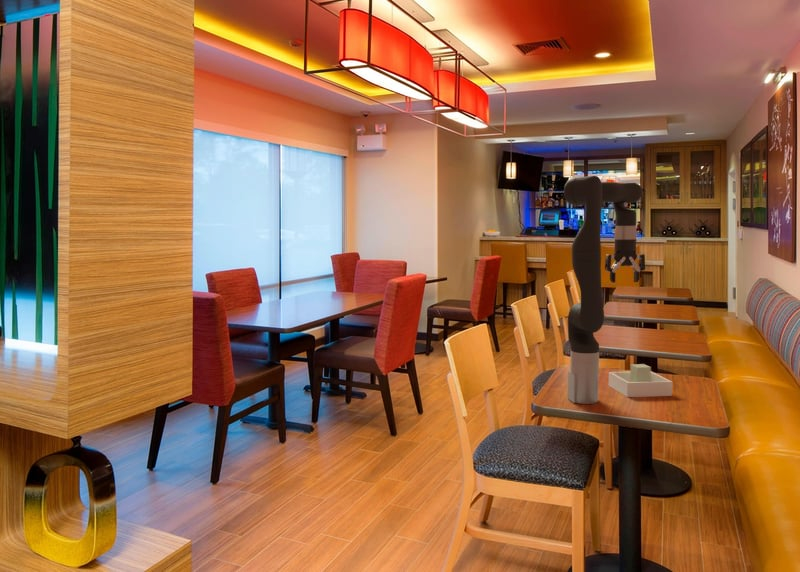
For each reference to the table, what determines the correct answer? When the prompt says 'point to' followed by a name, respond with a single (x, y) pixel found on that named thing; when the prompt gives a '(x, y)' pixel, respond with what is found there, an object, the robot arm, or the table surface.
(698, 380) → the table surface
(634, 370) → the cream block
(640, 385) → the serving bin
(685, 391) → the table surface
